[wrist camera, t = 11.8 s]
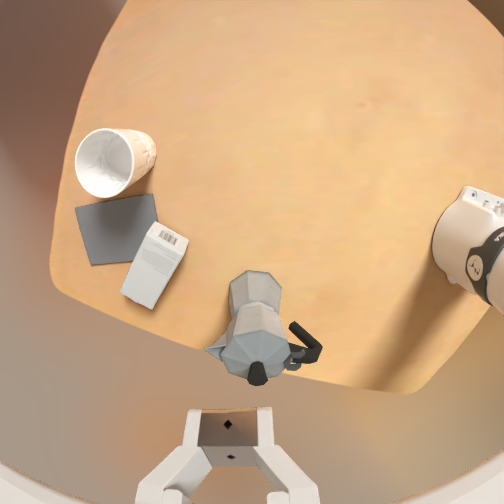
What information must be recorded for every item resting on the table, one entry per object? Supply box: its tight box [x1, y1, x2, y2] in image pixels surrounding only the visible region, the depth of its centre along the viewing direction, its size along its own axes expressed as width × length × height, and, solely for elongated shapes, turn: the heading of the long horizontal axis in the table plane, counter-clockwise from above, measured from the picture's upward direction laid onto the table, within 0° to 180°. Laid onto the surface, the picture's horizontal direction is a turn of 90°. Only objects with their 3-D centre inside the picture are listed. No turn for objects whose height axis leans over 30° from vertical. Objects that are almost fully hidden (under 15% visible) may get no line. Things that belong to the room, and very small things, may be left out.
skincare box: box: [120, 221, 189, 310], centre depth 41 cm, size 6×4×12 cm
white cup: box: [75, 129, 157, 198], centre depth 32 cm, size 8×8×10 cm
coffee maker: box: [204, 270, 323, 386], centre depth 38 cm, size 15×9×18 cm, turn 83°
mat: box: [75, 194, 158, 265], centre depth 41 cm, size 14×10×1 cm
